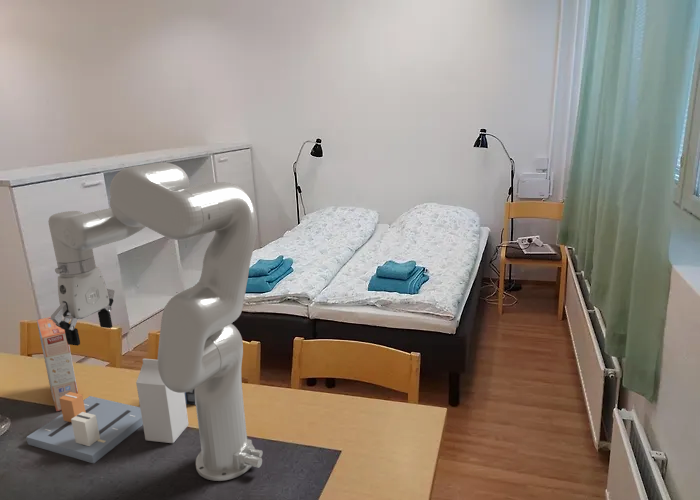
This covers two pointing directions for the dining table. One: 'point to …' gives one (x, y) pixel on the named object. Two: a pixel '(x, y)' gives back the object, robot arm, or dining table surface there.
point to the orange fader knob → (71, 405)
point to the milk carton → (160, 405)
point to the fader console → (112, 425)
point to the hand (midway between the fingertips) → (91, 335)
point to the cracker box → (57, 360)
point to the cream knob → (85, 428)
